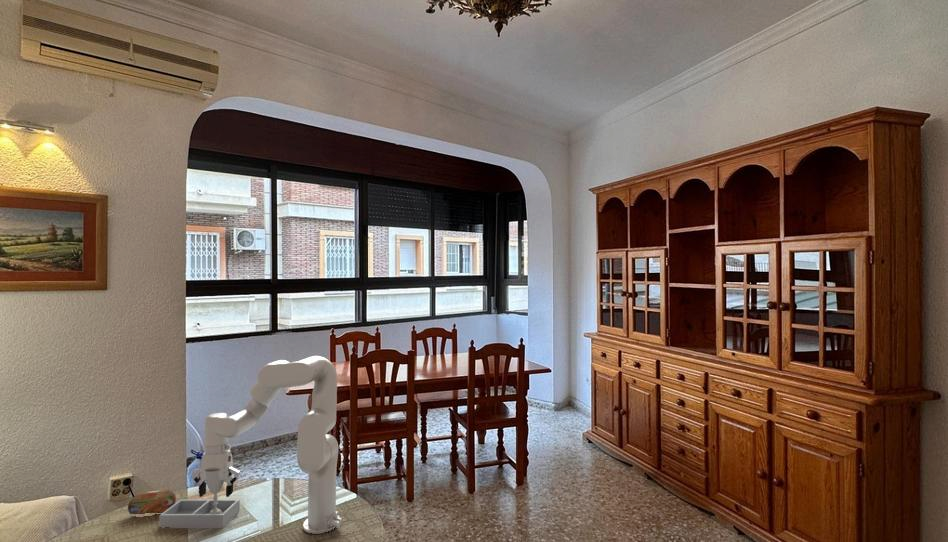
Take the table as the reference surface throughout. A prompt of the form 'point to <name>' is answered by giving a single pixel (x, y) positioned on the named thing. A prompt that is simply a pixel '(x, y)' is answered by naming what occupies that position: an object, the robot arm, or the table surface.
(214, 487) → the chalice
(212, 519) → the holder
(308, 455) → the robot arm
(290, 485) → the table surface
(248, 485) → the table surface
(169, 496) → the tin
